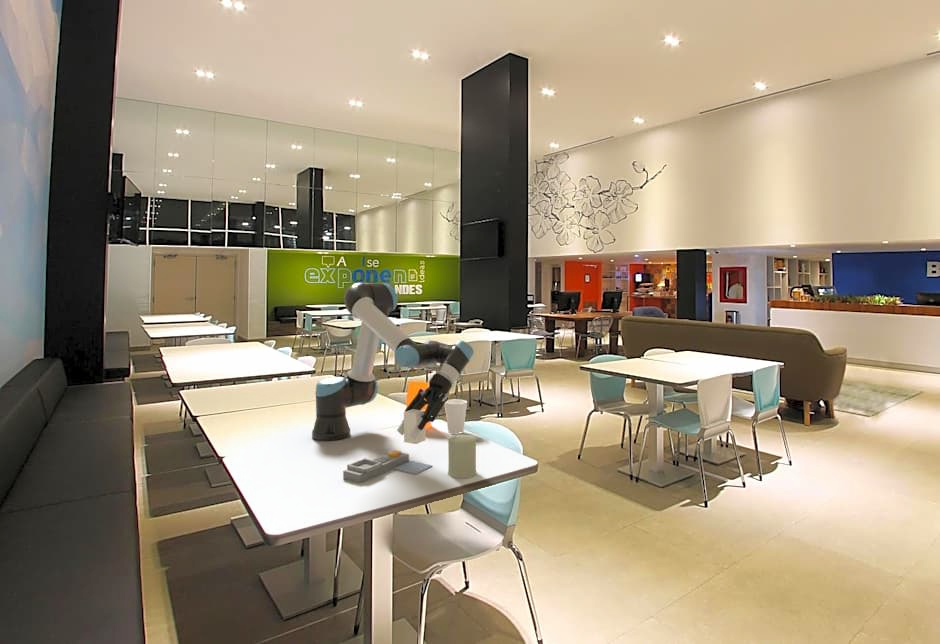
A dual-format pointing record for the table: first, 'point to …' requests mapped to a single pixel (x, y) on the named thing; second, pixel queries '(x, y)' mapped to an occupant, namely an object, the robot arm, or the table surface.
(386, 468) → the strip
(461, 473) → the can
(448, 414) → the foam cup
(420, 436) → the white tall block
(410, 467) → the mat
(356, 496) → the table surface
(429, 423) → the orange juice
